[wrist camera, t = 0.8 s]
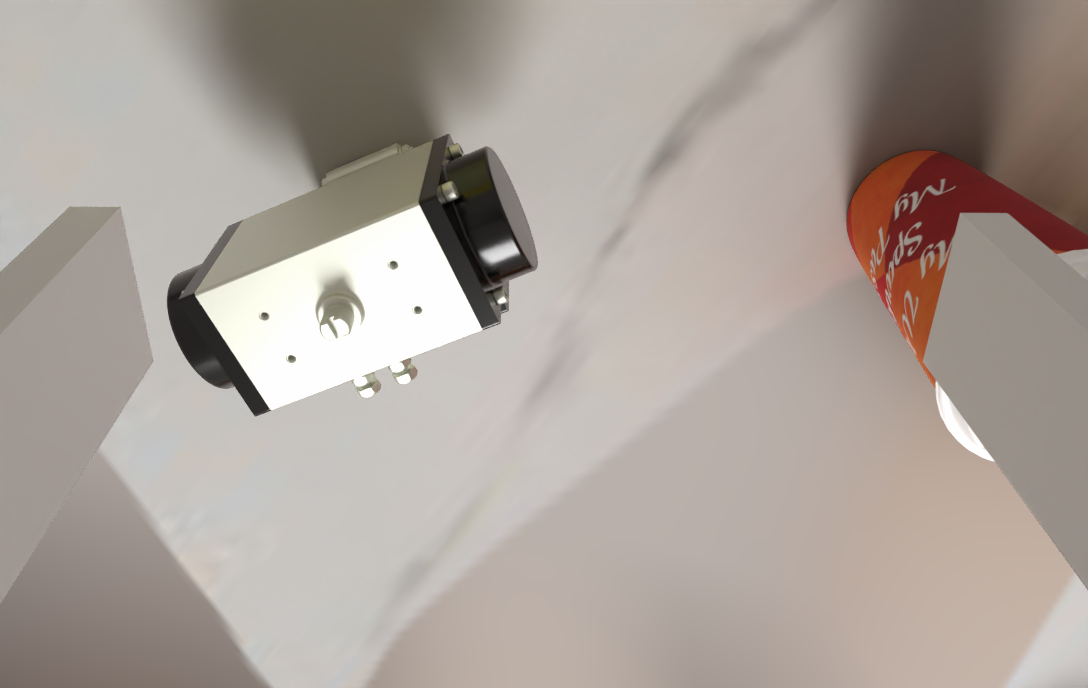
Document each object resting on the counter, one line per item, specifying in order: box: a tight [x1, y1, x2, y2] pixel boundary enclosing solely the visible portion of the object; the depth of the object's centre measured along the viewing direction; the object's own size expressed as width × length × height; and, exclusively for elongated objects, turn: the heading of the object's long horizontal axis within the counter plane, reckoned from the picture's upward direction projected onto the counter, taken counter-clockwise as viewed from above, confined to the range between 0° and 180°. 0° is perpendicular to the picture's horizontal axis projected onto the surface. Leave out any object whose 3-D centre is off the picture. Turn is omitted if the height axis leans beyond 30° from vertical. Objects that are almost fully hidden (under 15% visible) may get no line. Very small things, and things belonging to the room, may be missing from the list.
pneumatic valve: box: [167, 134, 538, 416], centre depth 34 cm, size 6×12×12 cm, turn 112°
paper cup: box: [847, 150, 1088, 462], centre depth 34 cm, size 8×8×14 cm
